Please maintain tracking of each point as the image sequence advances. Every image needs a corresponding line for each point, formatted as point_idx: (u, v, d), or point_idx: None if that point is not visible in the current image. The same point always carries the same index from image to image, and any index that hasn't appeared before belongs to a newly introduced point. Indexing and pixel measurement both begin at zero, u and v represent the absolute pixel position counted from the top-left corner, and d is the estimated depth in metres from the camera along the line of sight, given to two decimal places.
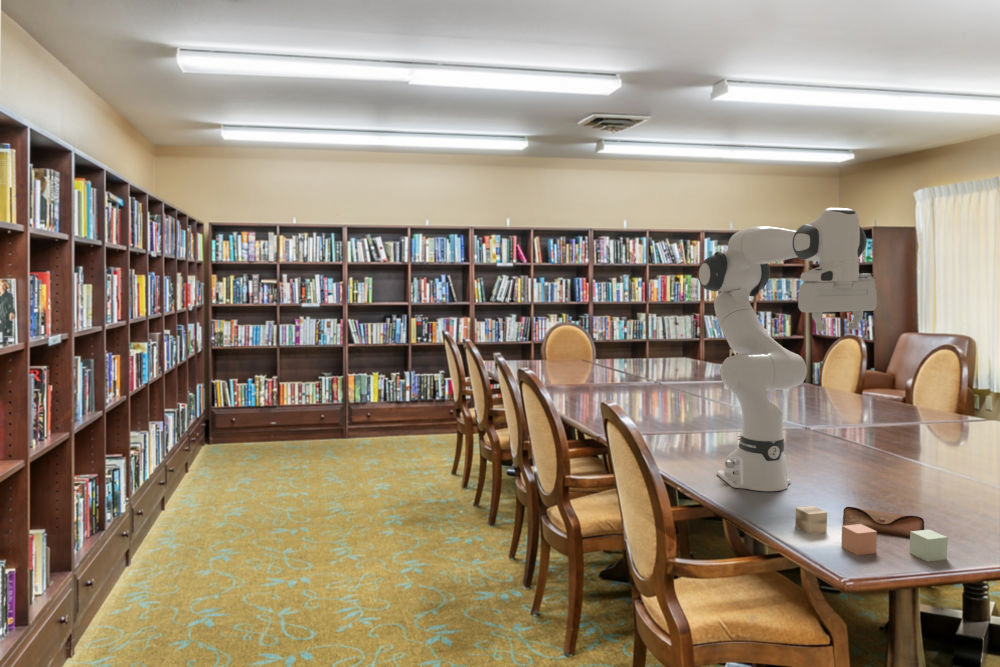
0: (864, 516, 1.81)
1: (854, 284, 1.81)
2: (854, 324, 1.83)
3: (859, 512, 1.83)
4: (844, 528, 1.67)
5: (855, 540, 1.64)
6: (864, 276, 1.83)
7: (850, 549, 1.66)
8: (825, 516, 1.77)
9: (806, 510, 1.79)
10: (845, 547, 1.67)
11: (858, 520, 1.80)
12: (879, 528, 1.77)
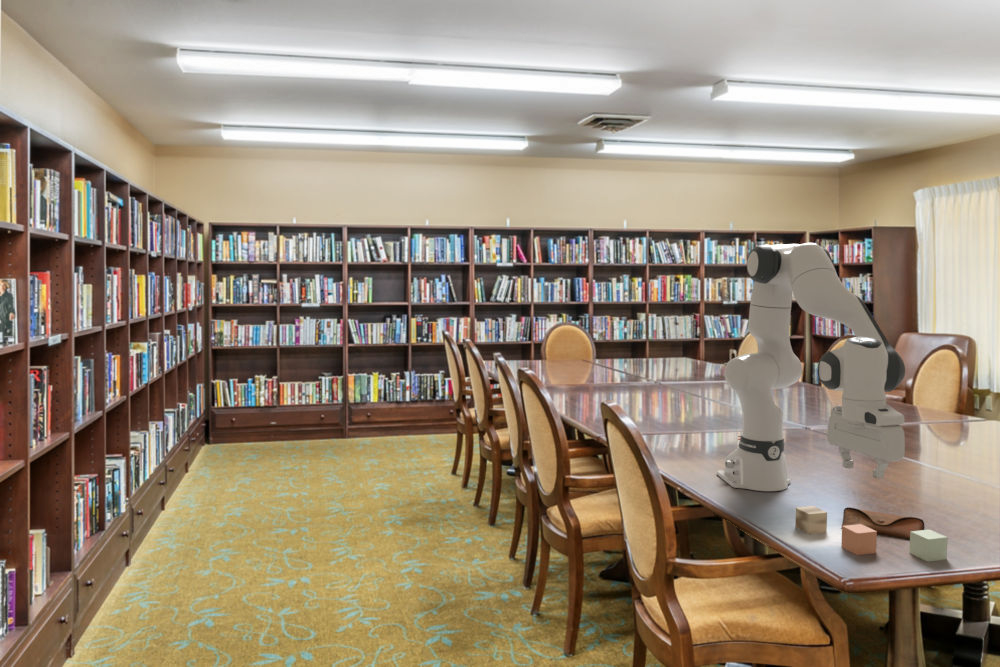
0: (863, 516, 1.81)
1: None
2: None
3: (859, 513, 1.82)
4: (844, 528, 1.67)
5: (855, 540, 1.64)
6: None
7: (850, 549, 1.66)
8: (825, 516, 1.77)
9: (806, 510, 1.79)
10: (845, 547, 1.67)
11: (857, 521, 1.80)
12: (877, 529, 1.76)
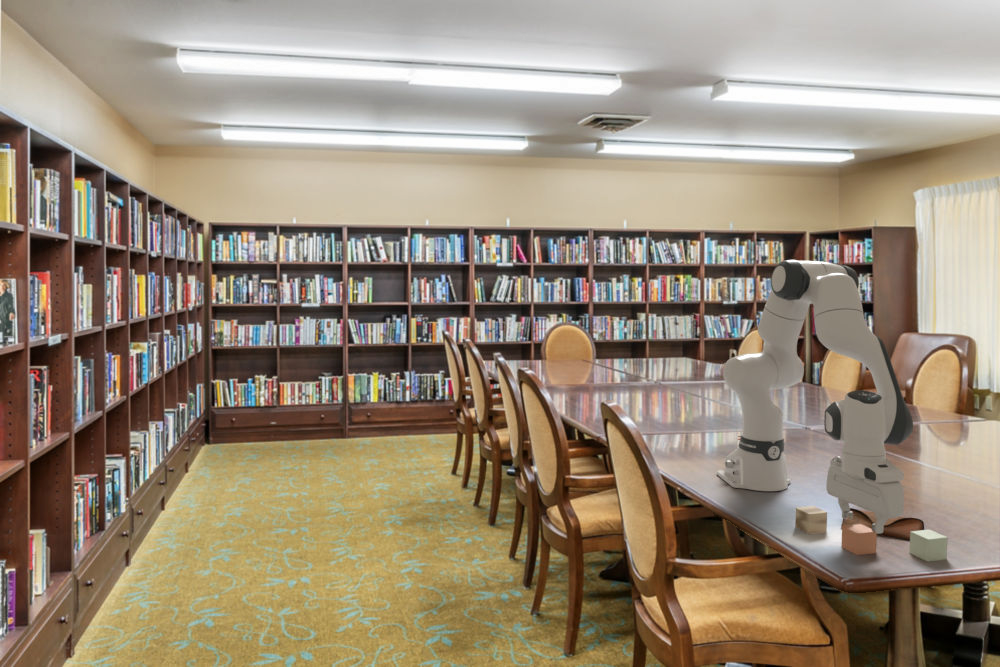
0: (863, 517, 1.81)
1: None
2: None
3: (858, 513, 1.82)
4: (844, 528, 1.67)
5: (855, 540, 1.64)
6: None
7: (850, 549, 1.66)
8: (825, 516, 1.77)
9: (806, 510, 1.79)
10: (845, 547, 1.67)
11: (856, 521, 1.80)
12: None
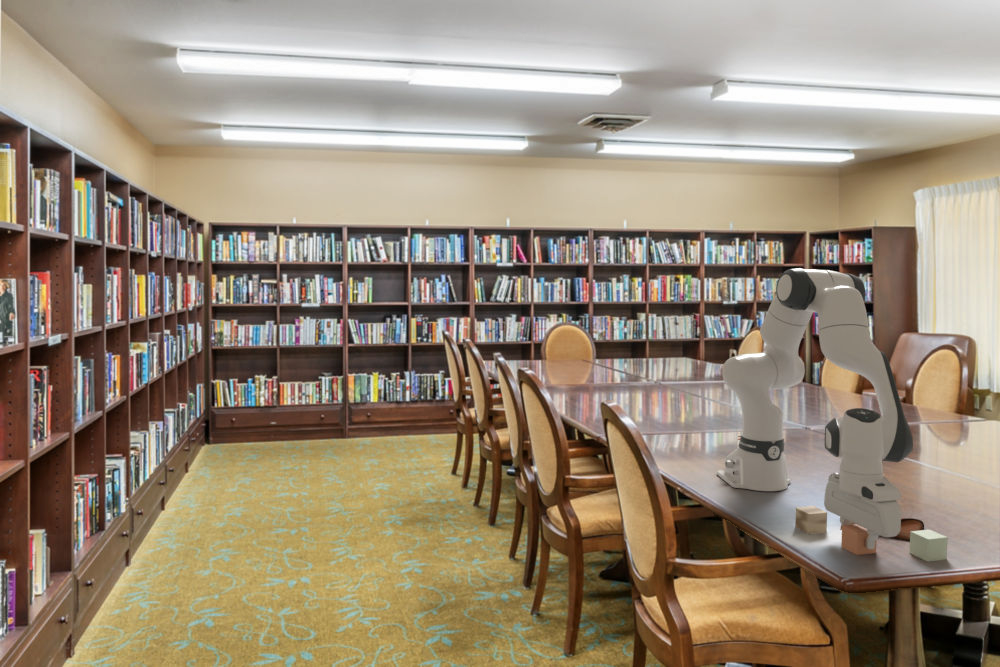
0: None
1: None
2: None
3: None
4: (844, 528, 1.67)
5: (855, 540, 1.64)
6: None
7: (850, 549, 1.66)
8: (825, 516, 1.77)
9: (806, 510, 1.79)
10: (845, 547, 1.67)
11: None
12: None
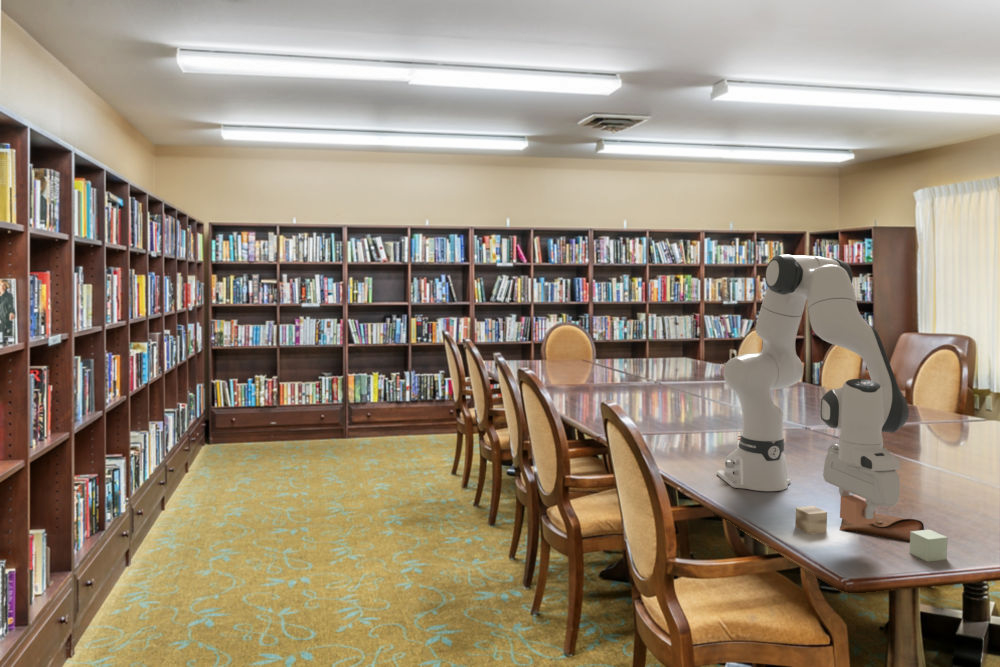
0: None
1: None
2: None
3: None
4: (843, 498, 1.67)
5: (854, 510, 1.64)
6: None
7: (848, 519, 1.65)
8: (825, 516, 1.77)
9: (806, 510, 1.79)
10: (843, 517, 1.67)
11: None
12: (876, 530, 1.75)
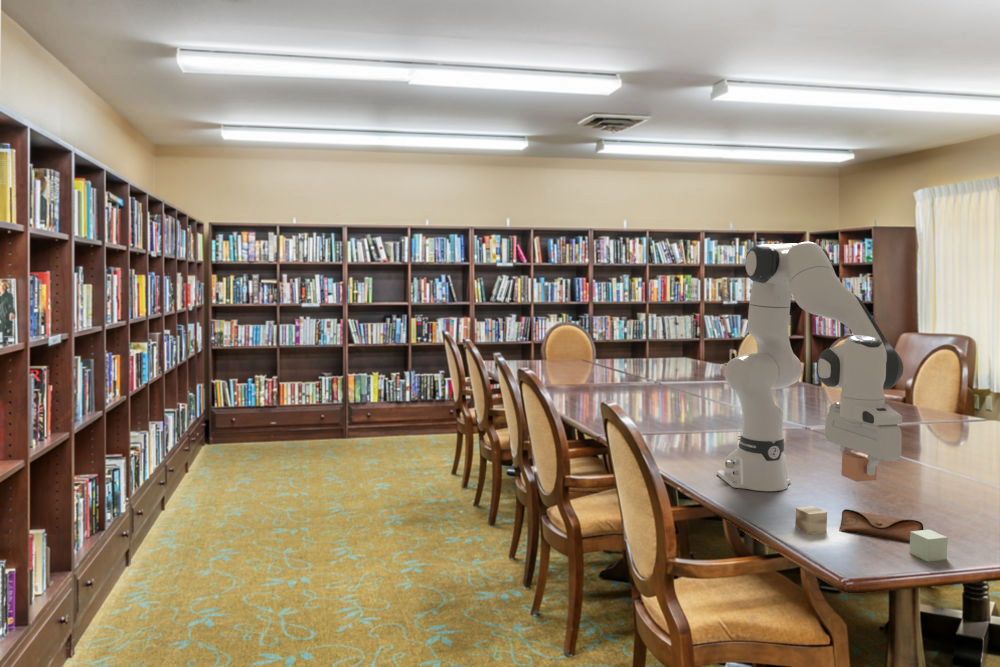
0: (862, 519, 1.79)
1: None
2: None
3: (857, 515, 1.81)
4: (844, 455, 1.66)
5: (855, 467, 1.63)
6: None
7: (850, 476, 1.65)
8: (825, 516, 1.77)
9: (806, 510, 1.79)
10: (845, 474, 1.66)
11: (855, 523, 1.78)
12: (875, 531, 1.74)
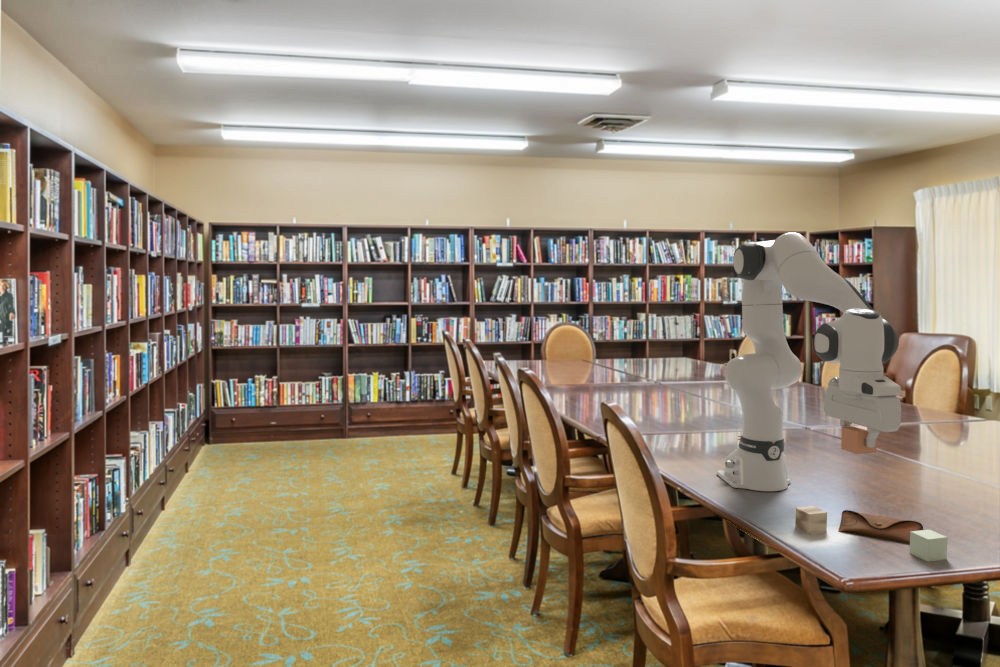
0: (861, 519, 1.79)
1: None
2: None
3: (856, 516, 1.80)
4: (844, 429, 1.66)
5: (855, 439, 1.63)
6: None
7: (850, 449, 1.65)
8: (825, 516, 1.77)
9: (806, 510, 1.79)
10: (845, 448, 1.66)
11: (854, 524, 1.78)
12: (874, 532, 1.74)
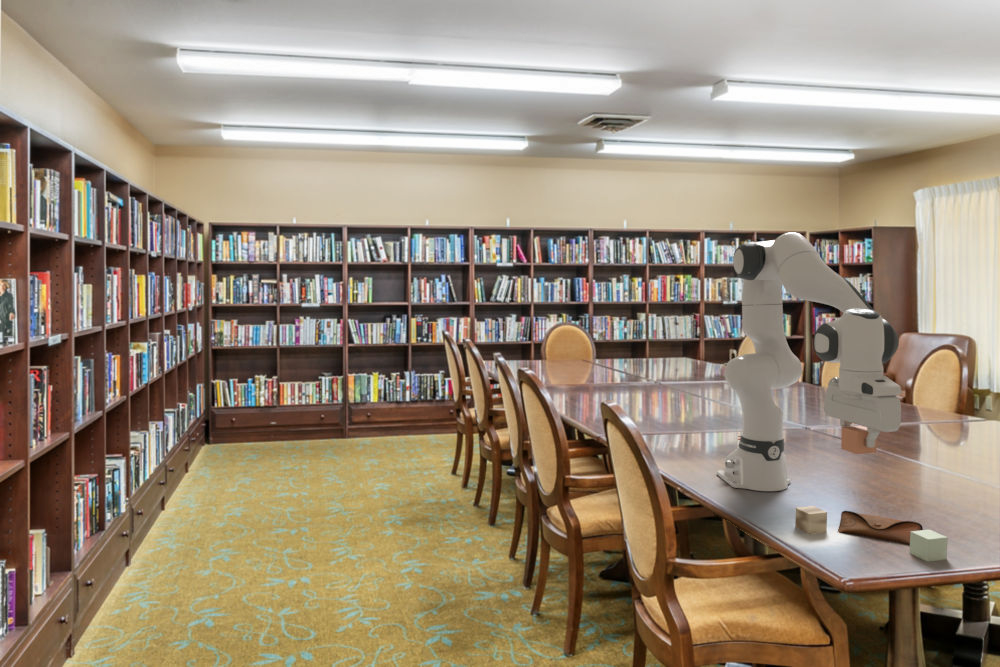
0: (860, 520, 1.78)
1: None
2: None
3: (856, 516, 1.80)
4: (844, 429, 1.66)
5: (855, 439, 1.63)
6: None
7: (850, 449, 1.65)
8: (825, 516, 1.77)
9: (806, 510, 1.79)
10: (845, 448, 1.66)
11: (853, 525, 1.77)
12: (874, 533, 1.74)
